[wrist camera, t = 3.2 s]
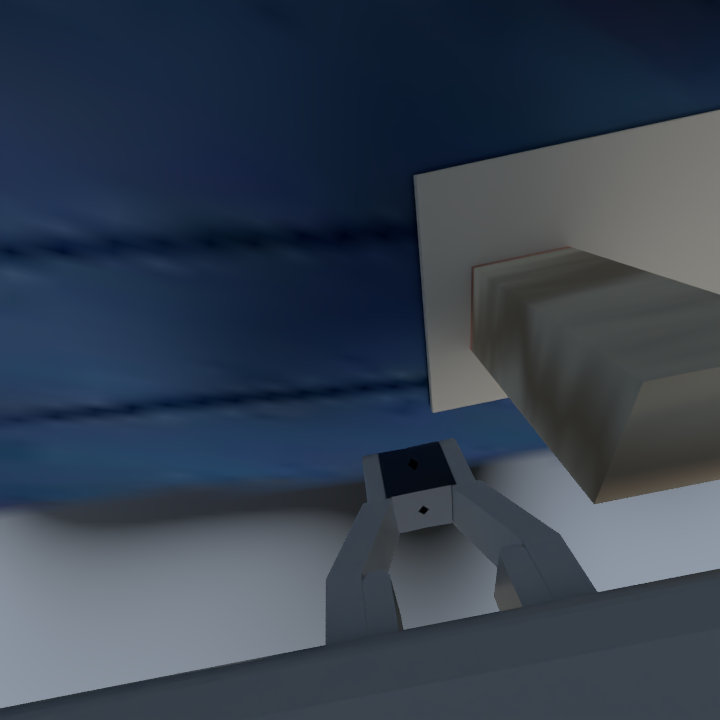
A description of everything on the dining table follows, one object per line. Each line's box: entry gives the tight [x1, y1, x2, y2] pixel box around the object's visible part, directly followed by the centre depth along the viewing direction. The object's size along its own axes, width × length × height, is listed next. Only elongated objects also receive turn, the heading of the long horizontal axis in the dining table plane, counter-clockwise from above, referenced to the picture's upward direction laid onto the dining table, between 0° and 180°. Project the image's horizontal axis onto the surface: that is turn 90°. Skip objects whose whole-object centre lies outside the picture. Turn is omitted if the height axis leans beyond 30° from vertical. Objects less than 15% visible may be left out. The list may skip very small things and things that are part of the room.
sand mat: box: [413, 109, 720, 413], centre depth 17 cm, size 14×20×1 cm
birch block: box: [470, 246, 720, 504], centre depth 13 cm, size 5×5×10 cm
